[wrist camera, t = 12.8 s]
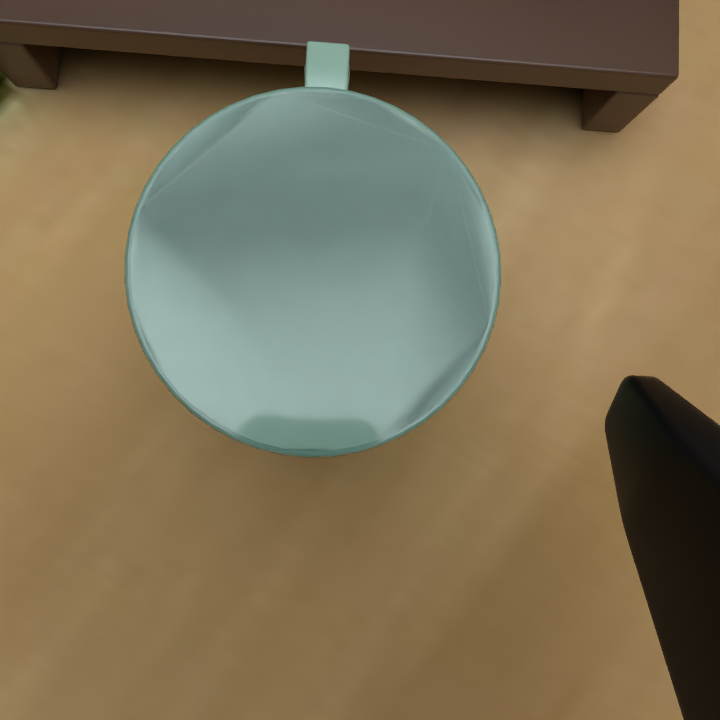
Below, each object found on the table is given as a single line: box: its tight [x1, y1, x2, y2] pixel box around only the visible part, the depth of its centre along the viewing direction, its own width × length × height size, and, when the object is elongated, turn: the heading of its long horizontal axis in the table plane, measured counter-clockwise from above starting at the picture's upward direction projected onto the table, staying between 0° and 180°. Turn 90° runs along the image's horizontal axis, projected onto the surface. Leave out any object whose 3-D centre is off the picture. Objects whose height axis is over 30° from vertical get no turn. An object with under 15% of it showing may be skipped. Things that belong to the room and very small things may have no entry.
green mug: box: [125, 41, 501, 457], centre depth 15 cm, size 8×6×9 cm
